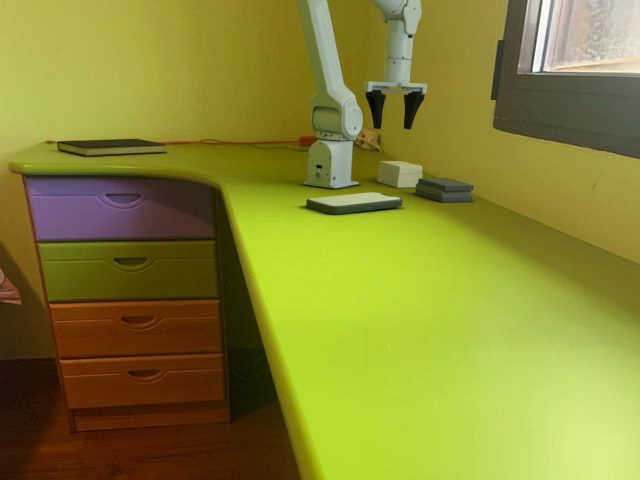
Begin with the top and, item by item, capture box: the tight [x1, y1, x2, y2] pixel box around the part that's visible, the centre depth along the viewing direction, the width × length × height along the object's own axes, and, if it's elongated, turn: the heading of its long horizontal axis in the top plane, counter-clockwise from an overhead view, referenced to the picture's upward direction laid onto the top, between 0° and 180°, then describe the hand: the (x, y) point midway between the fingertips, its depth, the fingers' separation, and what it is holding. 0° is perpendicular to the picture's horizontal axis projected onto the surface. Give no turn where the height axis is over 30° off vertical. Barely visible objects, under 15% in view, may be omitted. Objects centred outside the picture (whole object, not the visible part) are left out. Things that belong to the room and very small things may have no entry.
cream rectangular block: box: [376, 167, 423, 189], centre depth 149 cm, size 9×6×3 cm, turn 24°
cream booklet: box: [378, 160, 424, 174], centre depth 148 cm, size 9×6×1 cm, turn 24°
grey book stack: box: [415, 177, 475, 203], centre depth 135 cm, size 10×7×3 cm
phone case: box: [305, 191, 404, 215], centre depth 121 cm, size 9×2×16 cm
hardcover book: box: [56, 138, 167, 158], centre depth 183 cm, size 16×23×2 cm
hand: (392, 129), depth 152 cm, fingers open, 7 cm apart
